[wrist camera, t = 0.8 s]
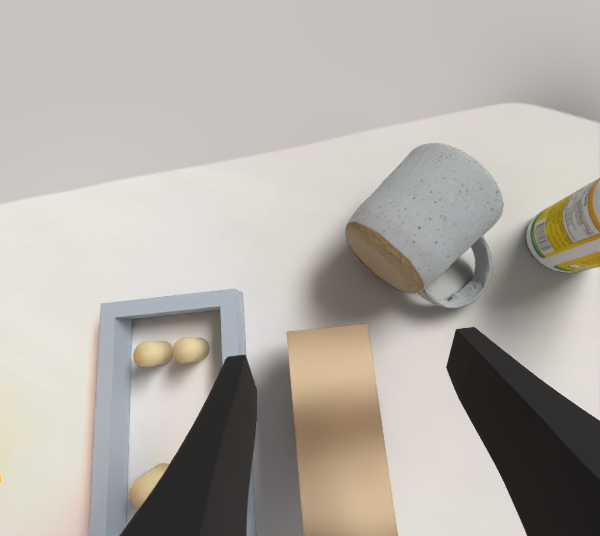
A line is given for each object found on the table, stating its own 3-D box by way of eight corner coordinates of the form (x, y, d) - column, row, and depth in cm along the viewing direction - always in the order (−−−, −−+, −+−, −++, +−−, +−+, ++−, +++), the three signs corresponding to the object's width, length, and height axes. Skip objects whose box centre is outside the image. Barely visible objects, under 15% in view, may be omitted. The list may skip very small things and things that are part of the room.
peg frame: (256, 537, 22) (246, 562, 19) (110, 545, 22) (83, 570, 20) (242, 292, 26) (233, 288, 23) (119, 306, 26) (98, 303, 24)
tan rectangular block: (389, 522, 19) (400, 555, 16) (309, 527, 19) (306, 560, 16) (362, 325, 22) (367, 323, 19) (292, 332, 22) (286, 331, 19)
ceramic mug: (335, 245, 26) (339, 209, 18) (400, 178, 27) (429, 117, 19) (437, 335, 24) (489, 336, 16) (504, 259, 25) (583, 227, 17)
